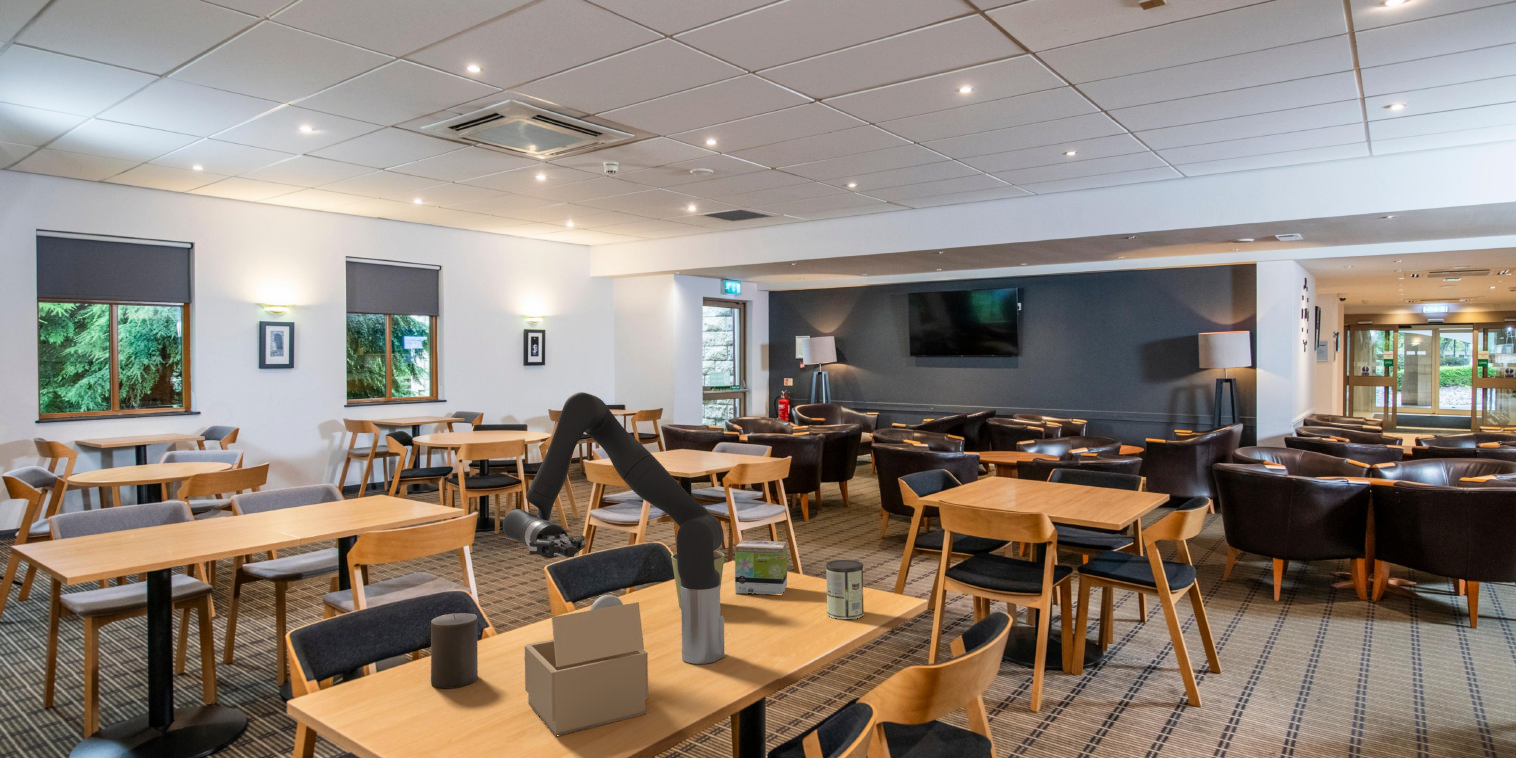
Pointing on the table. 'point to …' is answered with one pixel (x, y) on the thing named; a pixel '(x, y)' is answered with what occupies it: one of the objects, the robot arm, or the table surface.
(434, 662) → the pillar candle
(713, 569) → the robot arm
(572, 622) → the carton flap
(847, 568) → the coffee can
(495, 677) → the table surface
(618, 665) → the carton
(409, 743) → the table surface
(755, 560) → the tea box
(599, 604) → the donut
